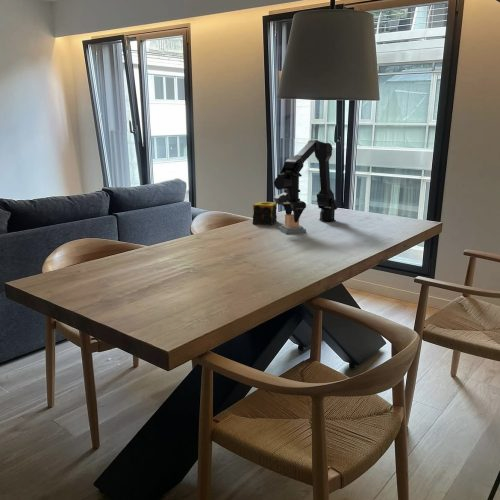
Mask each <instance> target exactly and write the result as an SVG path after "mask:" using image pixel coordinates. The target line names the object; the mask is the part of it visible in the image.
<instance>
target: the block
mask: <svg viewBox="0 0 500 500" xmlns="http://www.w3.org/2000/svg"><path fill="white" fill-rule="evenodd" d="M284 224H285V225H286V226H287V227H299V225H300V219H299V220H298V222H297V223H295V221H294V213H291V214H288V215H286V214H284Z"/></svg>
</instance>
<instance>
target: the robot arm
mask: <svg viewBox="0 0 500 500" xmlns="http://www.w3.org/2000/svg"><path fill="white" fill-rule="evenodd" d="M313 153H314V156H315V159H316V160H317V161H318V169H319V170H318V173H319V191H318V193H317V194H316V202H317V206H318V209H320V212H319V219H318V220H319V221H320V222H323V223H329V222H336V221H337V220H336V219H335V215H336V214H335V211H336V210H338V208H339V204H338V203H337V201H336V199H335V194H334V192H333V191H332V189H331V177H330V173H331V172H330V159H331V158H332V156H333V146H332V144H331V143H329V142H323V141H320V140H317V139H310V140H308V141H307V143H306V144H305V146H304V147H303V148H302V149H300V151H298V152H297V154H295V155H293V156H291V157H288V158H287V159H286V160H285V161H284V163H283V166H282V168H281V170H280V172H279V173H278V174H277V176H276V177H275V179H274V181H273V185H274V187H275V189H276V190H279V191H280V190H283V192H282V193H280V194H277V195H275V196H273V198H274V202H275V203H276V204H277V206H278V205H279V206H280V205H281V206H282V207H283V208H284V210H285V211H284V212H285V215H288V214H294V221H295V223H297V222H298V220H299V221H300V218H301V216H302V214H303V212H304V210H305V209H307V203H306V202H305V201H304V200H303V201H302V200H301V198H300V197H299V195H300V193H301V189H300V177H301V178H302V177H303V176H302V174H301V173H300V172H301V171H302V170H303V168H304V163H305V162H306V161H307V160H308V159H309V157H311V156H312V154H313ZM292 212H293V213H292Z"/></svg>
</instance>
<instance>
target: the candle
mask: <svg viewBox="0 0 500 500" xmlns="http://www.w3.org/2000/svg"><path fill="white" fill-rule="evenodd" d="M277 207H278V204H276V202H275V201H274V202H272V201H257V202H255V203H253V204H252V210H253V214H252V224H253V225H264V226H272V225H274V224H275V223H276V222H277V217H278V216H277V209H278V208H277Z"/></svg>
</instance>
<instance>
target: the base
mask: <svg viewBox="0 0 500 500" xmlns="http://www.w3.org/2000/svg"><path fill="white" fill-rule="evenodd" d="M277 229H278V231H280V232H282V233H283V234H285V235H292V234H293V235H294V234H306V233H307V229H306V228H304V226H302V225H300V224H299V227H287V226H286V225H285V223H284V224H280V225H279V226H277Z"/></svg>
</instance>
